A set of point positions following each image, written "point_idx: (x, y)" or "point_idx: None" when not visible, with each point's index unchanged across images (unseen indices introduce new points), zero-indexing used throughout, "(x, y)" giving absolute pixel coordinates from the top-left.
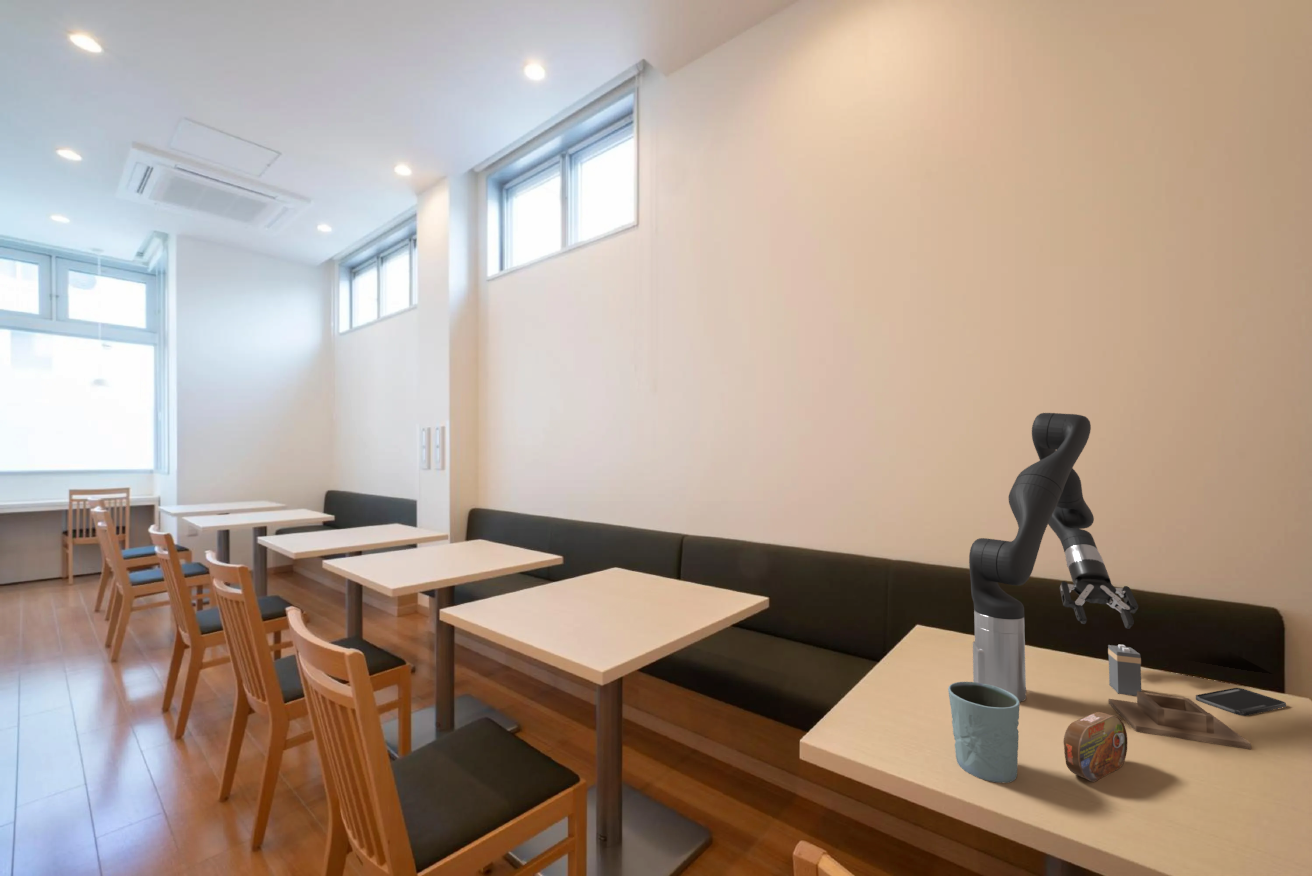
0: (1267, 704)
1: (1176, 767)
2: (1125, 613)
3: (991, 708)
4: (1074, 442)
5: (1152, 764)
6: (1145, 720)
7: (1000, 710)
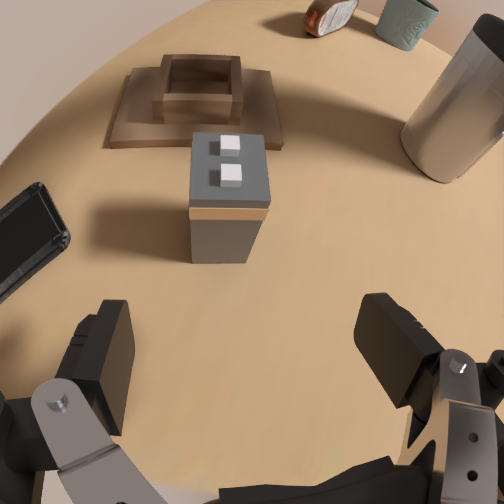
0: None
1: (254, 34)
2: (100, 350)
3: None
4: None
5: (276, 35)
6: (249, 84)
7: None
